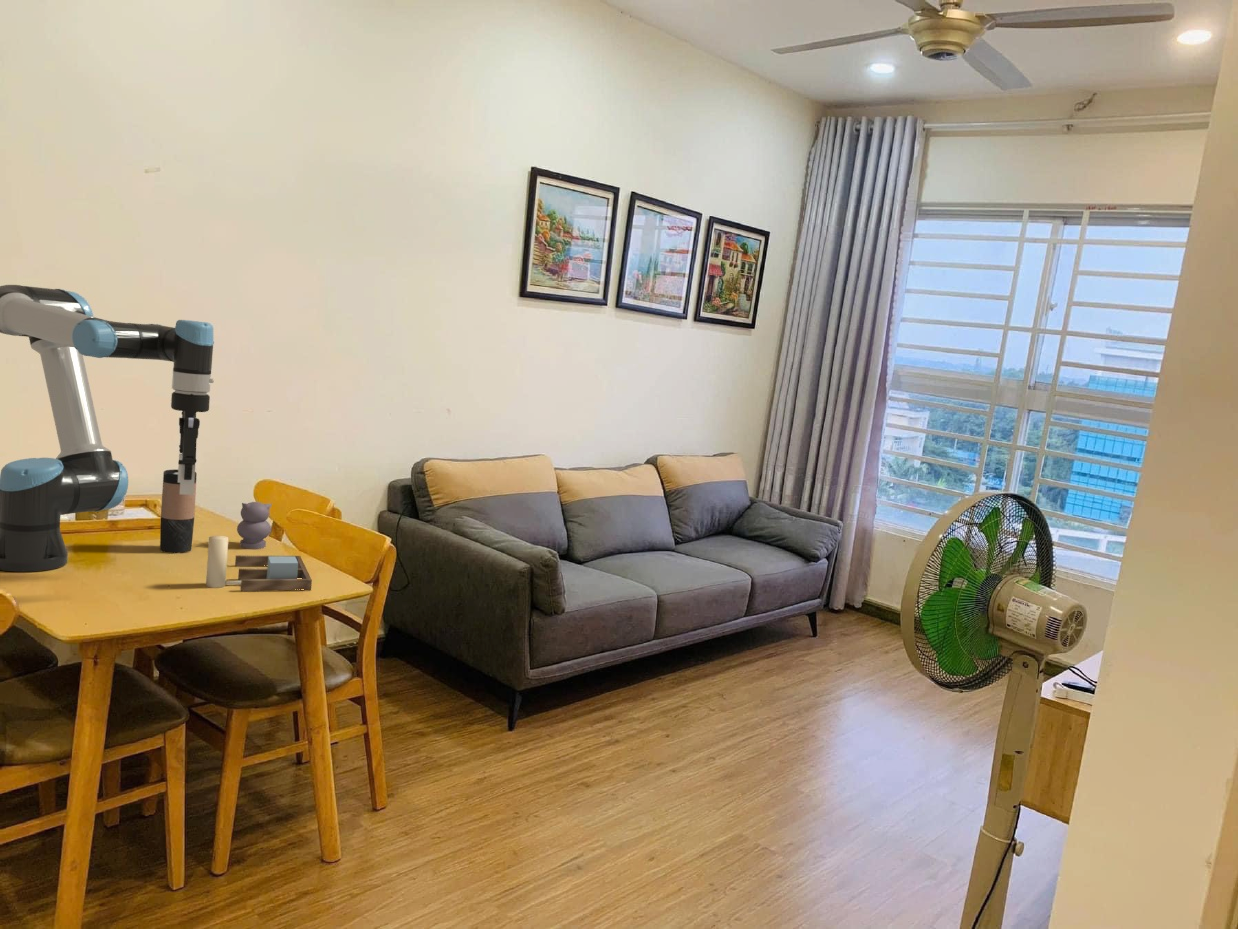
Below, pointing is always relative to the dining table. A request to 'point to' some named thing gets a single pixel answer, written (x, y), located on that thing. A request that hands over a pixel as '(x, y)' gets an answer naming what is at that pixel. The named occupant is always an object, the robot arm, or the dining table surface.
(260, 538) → the cat figurine
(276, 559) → the tethered block
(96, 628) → the dining table surface
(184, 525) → the travel mug
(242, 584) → the lane rack
